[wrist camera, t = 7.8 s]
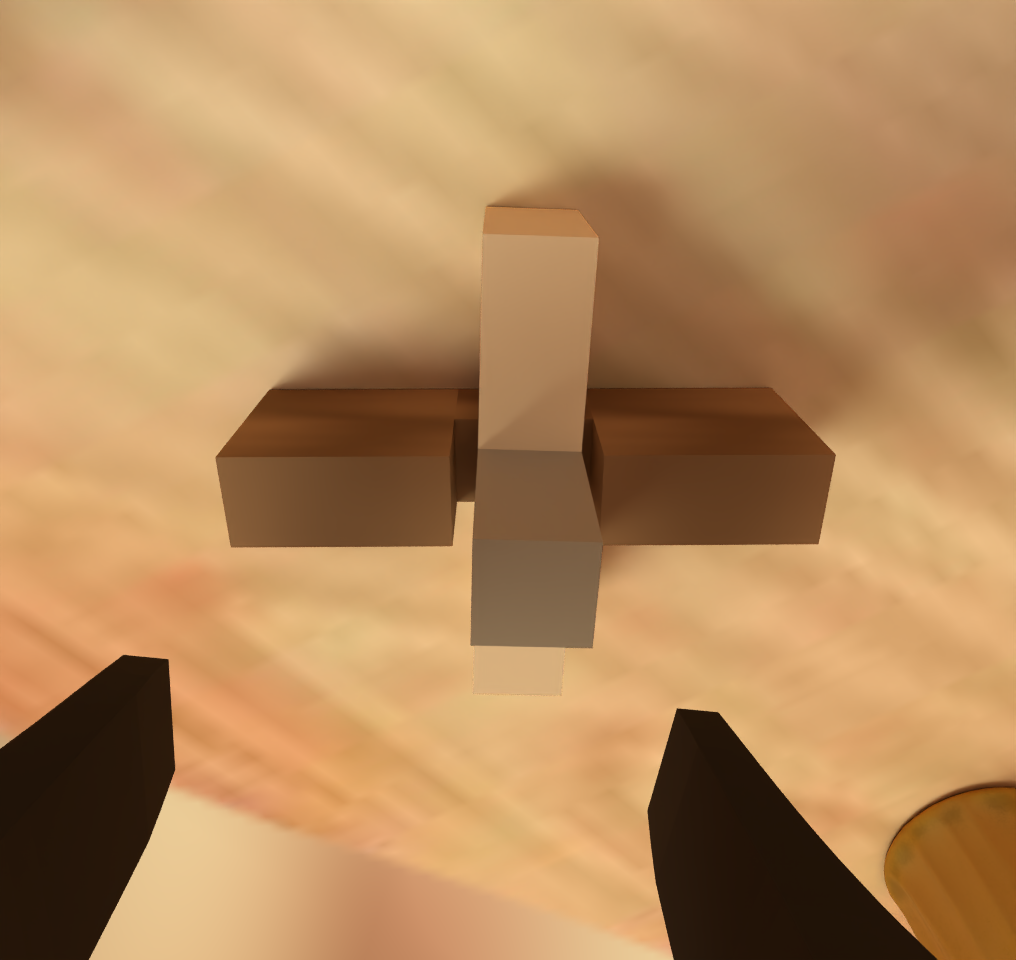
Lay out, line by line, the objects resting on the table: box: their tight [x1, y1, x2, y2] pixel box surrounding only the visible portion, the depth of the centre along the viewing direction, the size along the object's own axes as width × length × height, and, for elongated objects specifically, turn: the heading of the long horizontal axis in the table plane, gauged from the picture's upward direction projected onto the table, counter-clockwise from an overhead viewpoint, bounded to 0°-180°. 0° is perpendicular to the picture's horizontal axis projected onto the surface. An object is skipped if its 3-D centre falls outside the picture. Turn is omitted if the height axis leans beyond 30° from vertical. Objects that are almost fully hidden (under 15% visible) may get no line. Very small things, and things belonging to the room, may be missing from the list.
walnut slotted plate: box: [215, 388, 836, 547], centre depth 18 cm, size 12×2×4 cm, turn 90°
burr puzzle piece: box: [471, 207, 603, 696], centre depth 16 cm, size 10×2×8 cm, turn 178°
